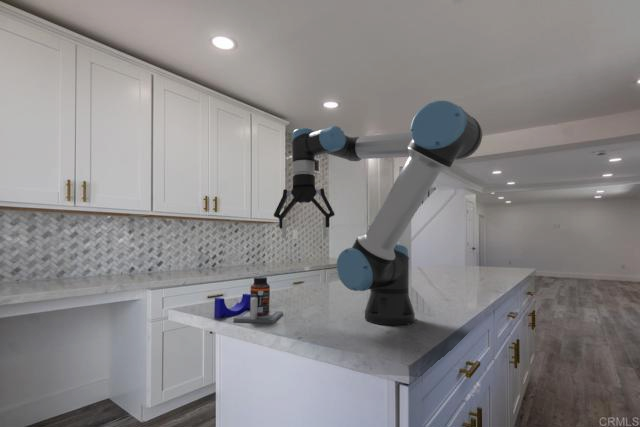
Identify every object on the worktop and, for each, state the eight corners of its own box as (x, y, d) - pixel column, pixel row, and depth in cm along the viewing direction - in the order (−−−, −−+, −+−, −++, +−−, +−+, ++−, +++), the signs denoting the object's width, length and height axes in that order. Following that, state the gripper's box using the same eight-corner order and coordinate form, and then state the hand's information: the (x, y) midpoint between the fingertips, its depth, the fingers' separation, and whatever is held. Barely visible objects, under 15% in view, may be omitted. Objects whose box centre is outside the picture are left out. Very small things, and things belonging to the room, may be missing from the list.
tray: (283, 314, 112) (283, 292, 113) (272, 323, 99) (273, 299, 100) (248, 312, 114) (248, 291, 114) (232, 322, 101) (233, 298, 101)
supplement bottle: (265, 317, 103) (265, 278, 103) (246, 315, 104) (247, 278, 105) (272, 312, 108) (272, 276, 109) (254, 311, 110) (255, 275, 110)
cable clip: (243, 310, 117) (243, 293, 118) (251, 312, 114) (251, 294, 115) (211, 316, 109) (212, 297, 109) (219, 318, 106) (220, 299, 106)
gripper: (340, 176, 119) (342, 237, 117) (269, 178, 121) (270, 239, 119) (340, 171, 111) (342, 237, 109) (264, 174, 113) (264, 238, 111)
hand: (304, 238), depth 114 cm, fingers open, 13 cm apart
